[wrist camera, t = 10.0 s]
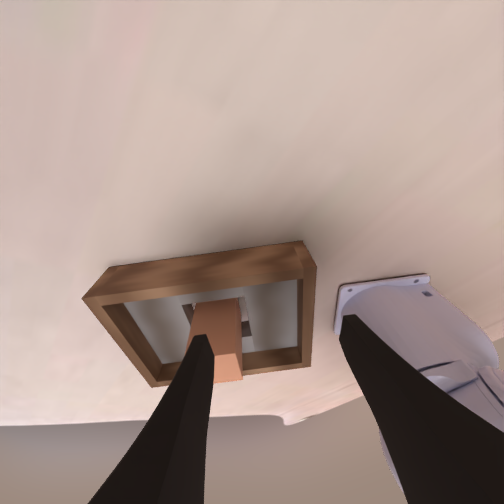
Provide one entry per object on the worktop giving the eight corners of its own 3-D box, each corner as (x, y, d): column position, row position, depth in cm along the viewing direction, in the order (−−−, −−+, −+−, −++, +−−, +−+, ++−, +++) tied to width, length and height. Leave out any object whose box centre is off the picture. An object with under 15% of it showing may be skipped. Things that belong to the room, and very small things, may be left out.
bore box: (302, 240, 19) (316, 266, 16) (301, 335, 26) (310, 366, 23) (108, 267, 19) (81, 298, 16) (162, 353, 27) (151, 387, 23)
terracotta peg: (235, 290, 22) (235, 353, 16) (241, 315, 24) (242, 379, 18) (197, 295, 22) (183, 359, 16) (206, 320, 24) (197, 385, 18)
